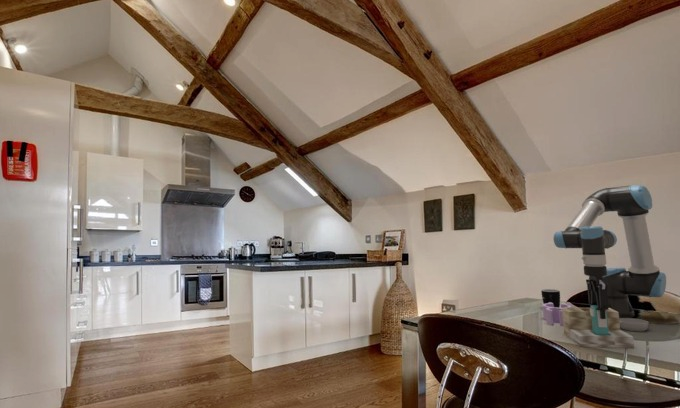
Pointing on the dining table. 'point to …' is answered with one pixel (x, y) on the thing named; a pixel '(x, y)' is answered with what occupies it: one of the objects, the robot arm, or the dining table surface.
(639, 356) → the dining table surface
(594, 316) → the plug
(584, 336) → the socket block
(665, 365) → the dining table surface
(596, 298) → the robot arm
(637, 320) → the saucepan
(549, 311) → the clip
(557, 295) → the mug
